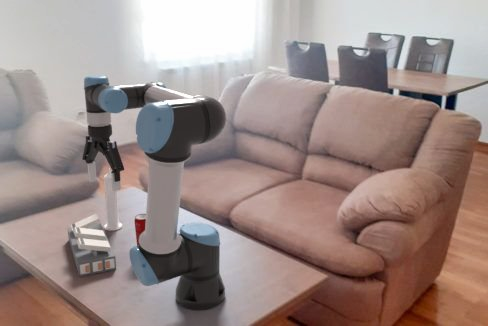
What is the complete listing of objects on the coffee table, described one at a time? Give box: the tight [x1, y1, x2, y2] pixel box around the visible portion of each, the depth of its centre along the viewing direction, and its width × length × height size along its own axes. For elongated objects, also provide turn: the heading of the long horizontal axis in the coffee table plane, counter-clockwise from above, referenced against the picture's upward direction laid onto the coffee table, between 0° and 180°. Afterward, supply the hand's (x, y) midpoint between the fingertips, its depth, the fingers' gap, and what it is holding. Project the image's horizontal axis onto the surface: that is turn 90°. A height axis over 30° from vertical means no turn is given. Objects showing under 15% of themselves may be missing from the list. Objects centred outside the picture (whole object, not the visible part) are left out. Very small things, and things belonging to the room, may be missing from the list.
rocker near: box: [77, 238, 111, 252], centre depth 166 cm, size 5×10×2 cm, turn 115°
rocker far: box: [70, 213, 101, 233], centre depth 181 cm, size 5×10×2 cm, turn 115°
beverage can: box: [134, 213, 146, 246], centre depth 174 cm, size 6×6×15 cm
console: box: [67, 222, 117, 277], centre depth 174 cm, size 28×12×7 cm, turn 25°
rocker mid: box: [74, 227, 106, 240], centre depth 173 cm, size 5×10×2 cm, turn 115°
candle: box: [103, 167, 123, 232], centre depth 193 cm, size 7×7×25 cm
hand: (104, 185), depth 167 cm, fingers open, 13 cm apart
